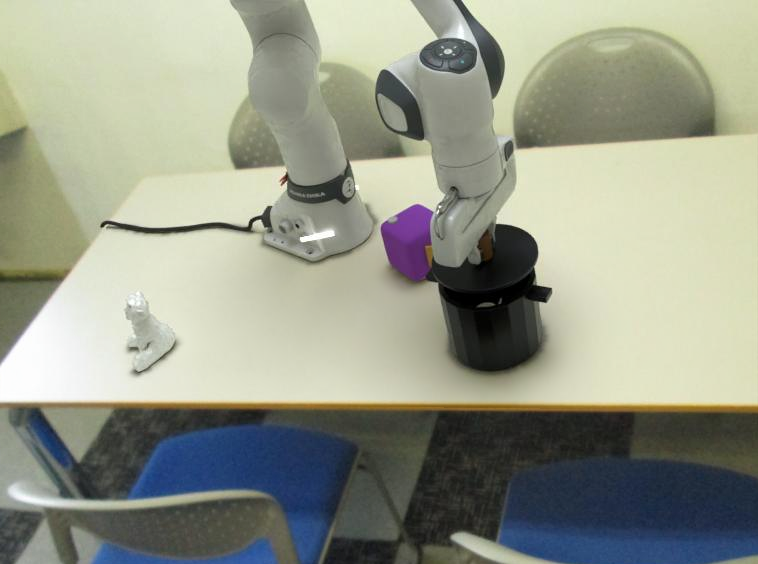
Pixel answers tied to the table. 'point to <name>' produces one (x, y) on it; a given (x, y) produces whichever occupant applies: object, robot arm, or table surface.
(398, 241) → the toy camera
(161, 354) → the sitting furry creature
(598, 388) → the table surface
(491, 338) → the pot
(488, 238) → the pot lid
